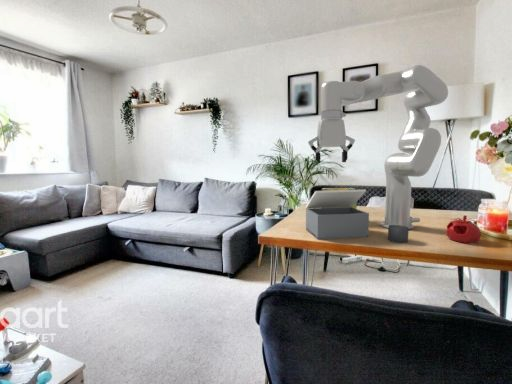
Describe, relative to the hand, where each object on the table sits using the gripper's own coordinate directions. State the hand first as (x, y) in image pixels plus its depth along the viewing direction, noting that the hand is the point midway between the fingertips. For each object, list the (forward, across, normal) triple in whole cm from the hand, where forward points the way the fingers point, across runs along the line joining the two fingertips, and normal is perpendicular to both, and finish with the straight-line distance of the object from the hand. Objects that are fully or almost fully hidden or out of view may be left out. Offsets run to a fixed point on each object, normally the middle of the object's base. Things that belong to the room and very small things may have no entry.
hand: (331, 162), depth 102 cm
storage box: (+28, -2, -2) cm, 28 cm away
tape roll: (+29, -22, +8) cm, 37 cm away
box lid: (+15, -2, -3) cm, 16 cm away
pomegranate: (+29, -44, +8) cm, 54 cm away
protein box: (+29, -8, -23) cm, 38 cm away
